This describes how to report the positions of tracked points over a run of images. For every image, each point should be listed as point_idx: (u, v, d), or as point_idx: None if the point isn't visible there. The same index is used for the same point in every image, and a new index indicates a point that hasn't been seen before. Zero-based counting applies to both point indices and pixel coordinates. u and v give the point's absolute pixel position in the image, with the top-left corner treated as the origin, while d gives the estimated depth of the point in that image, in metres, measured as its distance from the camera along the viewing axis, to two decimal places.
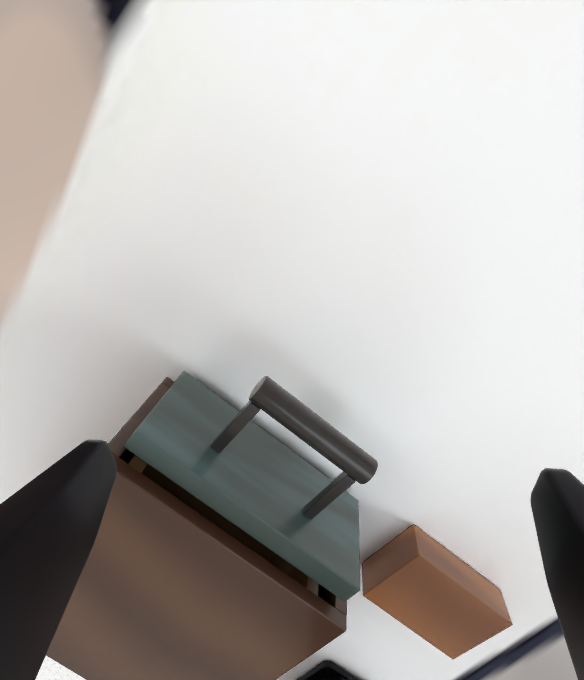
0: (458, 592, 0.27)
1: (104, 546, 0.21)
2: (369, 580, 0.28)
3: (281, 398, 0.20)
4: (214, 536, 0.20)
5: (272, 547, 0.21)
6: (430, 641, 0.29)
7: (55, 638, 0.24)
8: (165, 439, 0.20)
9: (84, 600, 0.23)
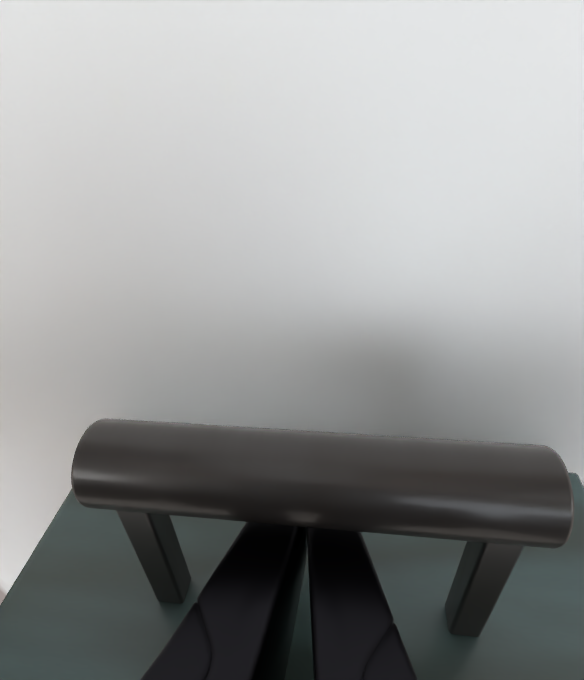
0: None
1: None
2: None
3: (142, 466, 0.06)
4: None
5: None
6: None
7: None
8: (28, 667, 0.08)
9: None
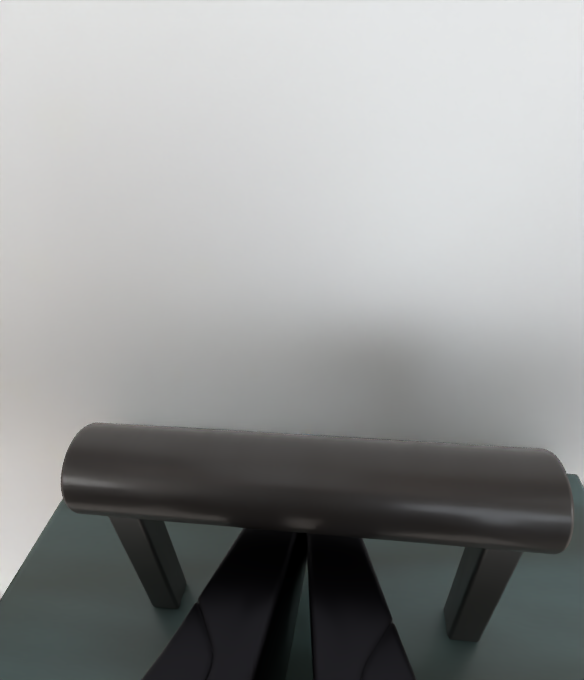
0: None
1: None
2: None
3: (132, 472, 0.06)
4: None
5: None
6: None
7: None
8: (21, 675, 0.08)
9: None
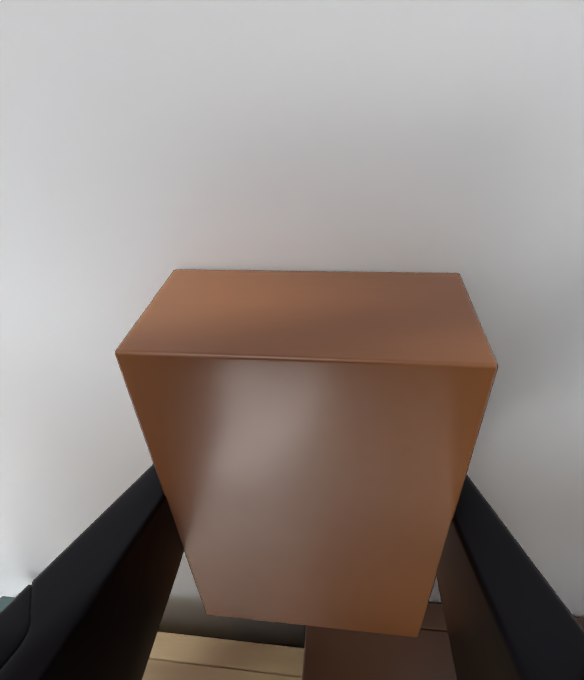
0: (200, 529, 0.08)
1: None
2: None
3: None
4: None
5: None
6: (455, 478, 0.07)
7: None
8: None
9: None
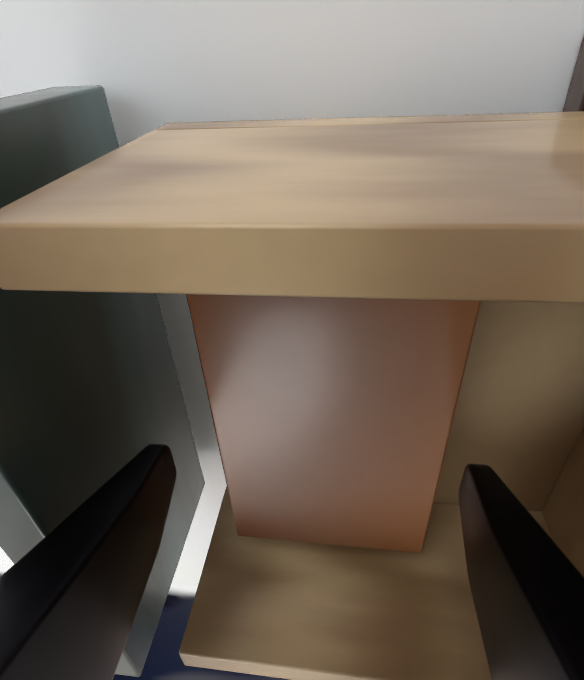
0: (238, 446, 0.10)
1: None
2: None
3: None
4: None
5: None
6: (452, 389, 0.08)
7: None
8: None
9: None
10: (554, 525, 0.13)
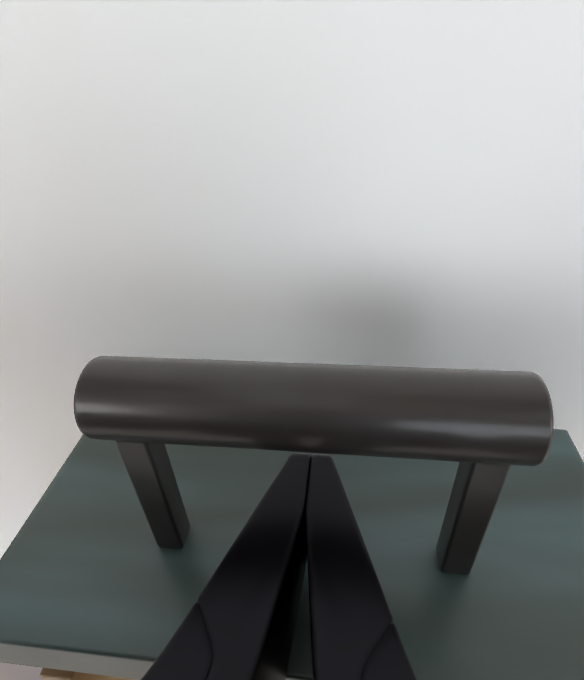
0: None
1: None
2: None
3: (141, 393, 0.07)
4: None
5: None
6: None
7: None
8: (33, 606, 0.09)
9: None
10: None
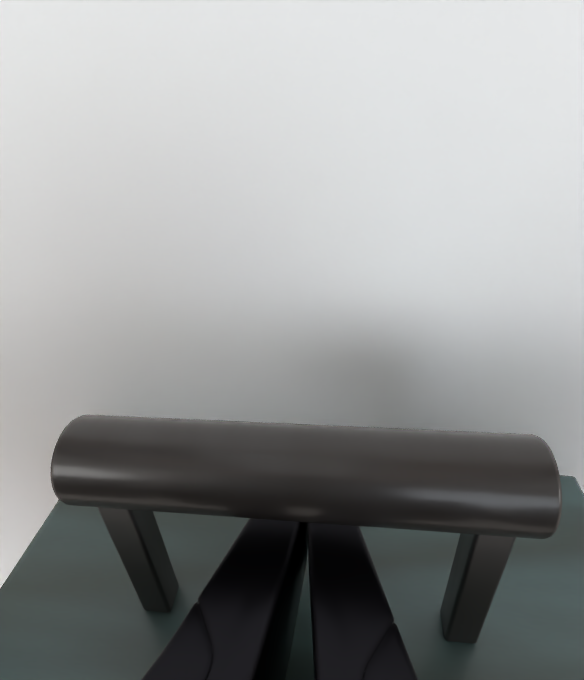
0: None
1: None
2: None
3: (122, 459, 0.06)
4: None
5: None
6: None
7: None
8: None
9: None
10: None
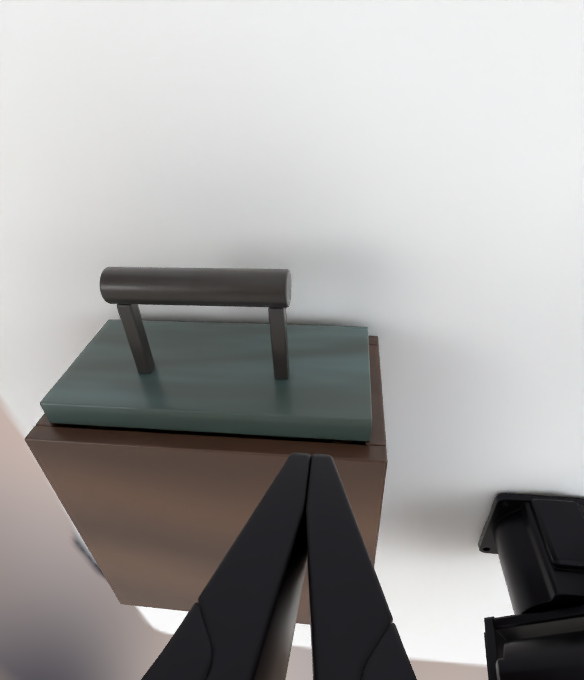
0: None
1: (119, 508, 0.20)
2: None
3: (128, 278, 0.16)
4: (177, 445, 0.17)
5: (248, 431, 0.17)
6: None
7: (182, 596, 0.25)
8: (77, 393, 0.18)
9: (162, 558, 0.22)
10: None
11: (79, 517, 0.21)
